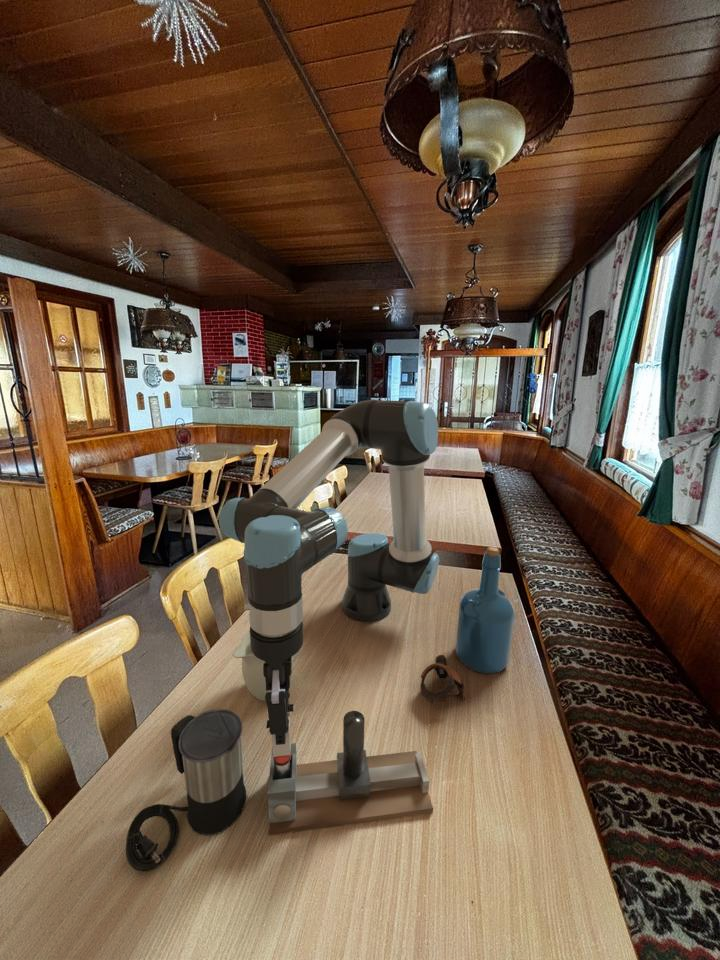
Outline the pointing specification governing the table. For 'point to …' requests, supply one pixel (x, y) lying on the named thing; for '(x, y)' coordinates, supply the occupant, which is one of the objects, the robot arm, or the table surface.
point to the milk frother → (197, 784)
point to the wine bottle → (486, 621)
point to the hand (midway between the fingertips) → (281, 751)
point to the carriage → (353, 759)
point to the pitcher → (254, 668)
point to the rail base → (317, 804)
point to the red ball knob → (282, 766)
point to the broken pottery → (442, 673)
